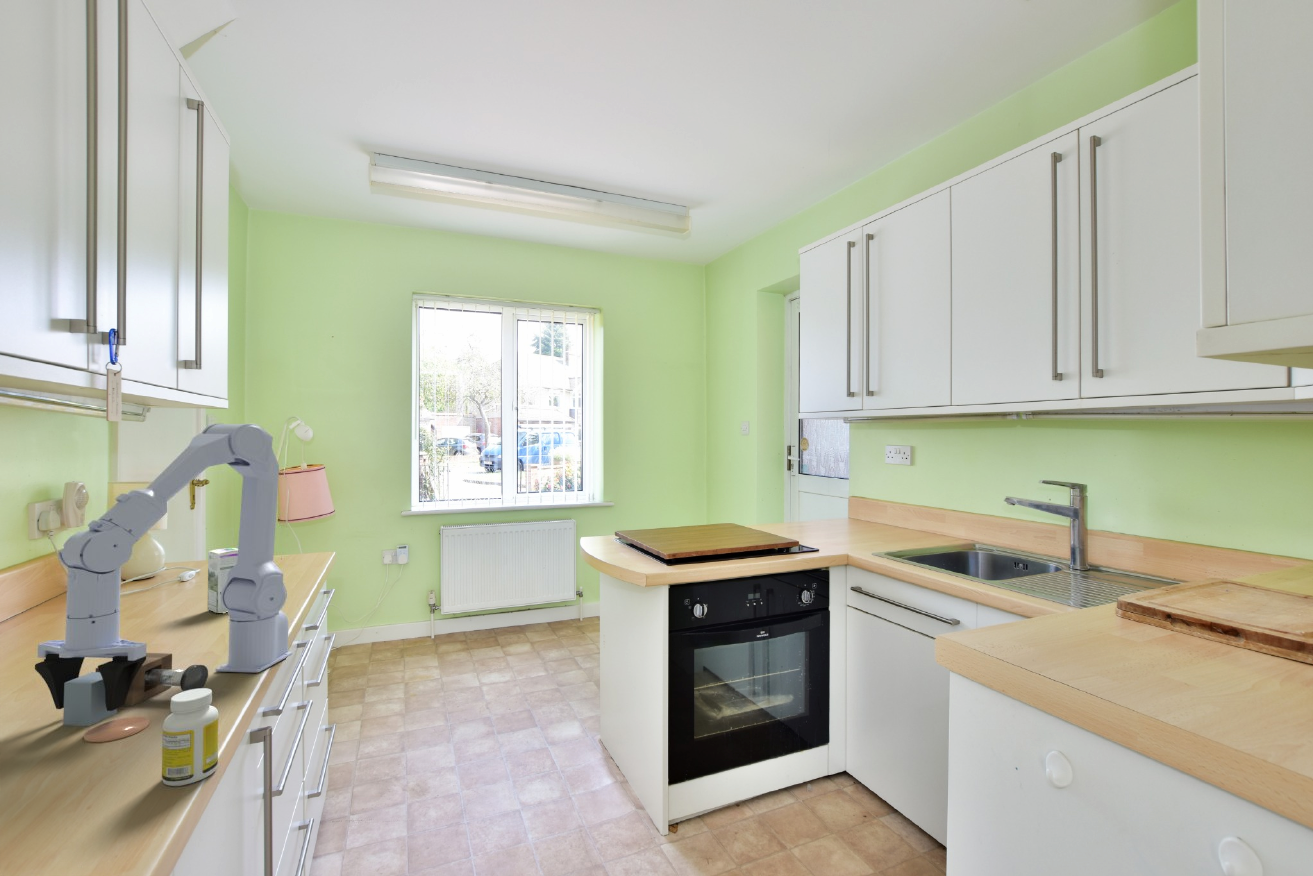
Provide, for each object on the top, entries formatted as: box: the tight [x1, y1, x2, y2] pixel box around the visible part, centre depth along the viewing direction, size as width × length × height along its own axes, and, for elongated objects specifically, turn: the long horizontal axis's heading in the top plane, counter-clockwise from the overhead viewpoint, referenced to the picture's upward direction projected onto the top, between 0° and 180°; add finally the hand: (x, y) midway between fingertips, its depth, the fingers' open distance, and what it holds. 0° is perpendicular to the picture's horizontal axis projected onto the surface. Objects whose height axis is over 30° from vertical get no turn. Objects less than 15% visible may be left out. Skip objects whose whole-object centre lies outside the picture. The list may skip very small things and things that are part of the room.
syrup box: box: [207, 547, 238, 614], centre depth 142 cm, size 6×6×14 cm
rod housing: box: [95, 652, 173, 707], centre depth 94 cm, size 7×6×6 cm
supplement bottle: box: [161, 687, 219, 787], centre depth 73 cm, size 5×5×10 cm
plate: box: [83, 716, 150, 743], centre depth 83 cm, size 7×7×1 cm
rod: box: [144, 664, 209, 692], centre depth 94 cm, size 4×8×4 cm, turn 88°
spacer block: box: [62, 671, 118, 727], centre depth 86 cm, size 4×4×6 cm
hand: (90, 707), depth 86 cm, fingers open, 7 cm apart
